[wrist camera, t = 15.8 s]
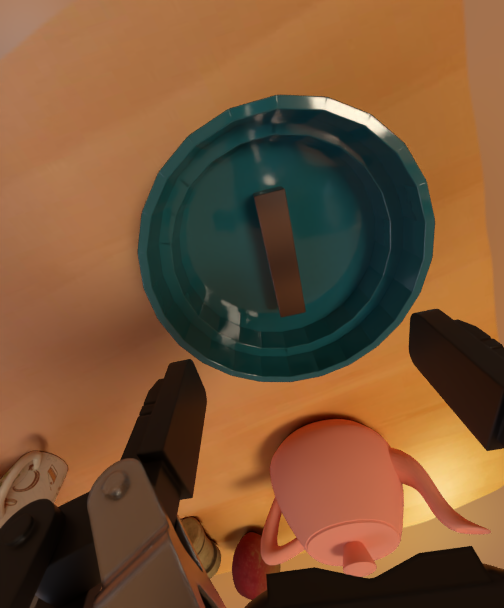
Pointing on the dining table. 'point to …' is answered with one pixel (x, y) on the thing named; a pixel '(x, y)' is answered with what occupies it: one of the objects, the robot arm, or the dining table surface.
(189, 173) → the bowl
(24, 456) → the mug
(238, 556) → the apple
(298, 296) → the stick
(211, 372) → the dining table surface
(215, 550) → the gavel
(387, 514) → the teapot
